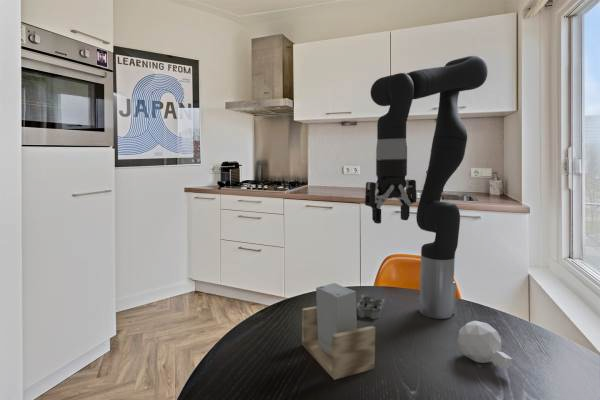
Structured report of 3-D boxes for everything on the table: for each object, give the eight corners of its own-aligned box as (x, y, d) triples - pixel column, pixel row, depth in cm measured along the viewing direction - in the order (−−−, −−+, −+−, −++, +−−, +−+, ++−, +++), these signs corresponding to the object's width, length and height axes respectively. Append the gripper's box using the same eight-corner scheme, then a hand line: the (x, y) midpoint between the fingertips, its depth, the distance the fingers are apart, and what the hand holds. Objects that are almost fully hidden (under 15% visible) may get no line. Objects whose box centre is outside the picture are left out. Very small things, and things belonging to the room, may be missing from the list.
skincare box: (358, 355, 83) (359, 291, 82) (336, 363, 80) (337, 296, 78) (335, 340, 90) (336, 281, 89) (315, 346, 87) (315, 285, 86)
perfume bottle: (443, 345, 86) (483, 379, 75) (458, 310, 85) (501, 339, 74) (469, 349, 90) (512, 383, 79) (484, 315, 89) (529, 344, 78)
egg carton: (362, 304, 117) (362, 292, 116) (385, 308, 114) (386, 295, 113) (354, 317, 107) (354, 303, 107) (379, 321, 104) (379, 307, 104)
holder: (337, 336, 95) (337, 302, 94) (374, 368, 80) (375, 328, 79) (302, 344, 90) (302, 308, 90) (334, 379, 76) (334, 337, 75)
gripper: (404, 157, 99) (403, 217, 100) (359, 158, 93) (359, 221, 95) (424, 157, 92) (423, 221, 94) (377, 158, 86) (376, 226, 88)
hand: (391, 221), depth 94 cm, fingers open, 8 cm apart
